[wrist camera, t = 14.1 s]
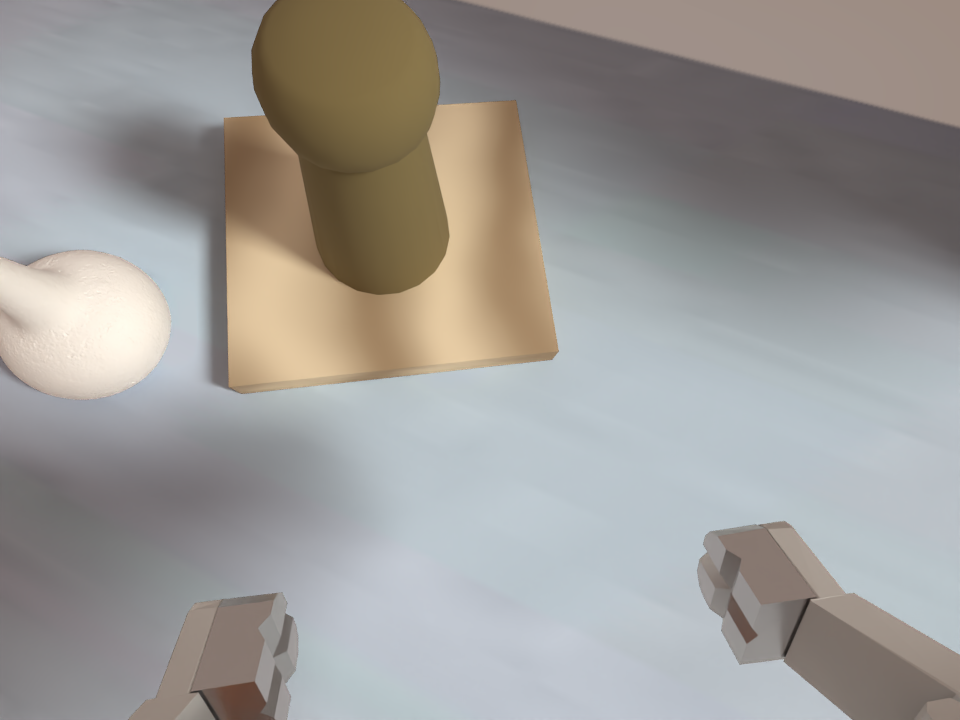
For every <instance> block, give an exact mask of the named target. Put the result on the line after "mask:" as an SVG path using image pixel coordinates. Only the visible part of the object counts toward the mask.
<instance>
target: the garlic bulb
mask: <svg viewBox="0 0 960 720" xmlns="http://www.w3.org/2000/svg"><path fill="white" fill-rule="evenodd" d="M170 332H171V315H170V310H169V306H168V304H167V301H166V299H165V297H164V295H163V293H162V292H161V290H160V289H159V287H158V286H157V285H156V283H155V282H154V281H153V280H152V279H151V278H150V277H149V276H148V275H147V274H146V273H145V272H143V271H142V270H141V269H140V268H138V267H137V266H135V265H133V264H132V263H130V262H128V261H126V260H124V259H122V258H121V257H117V256H114V255H110V254H107V253H103V252H97V251H91V250H74V251H67V252H61V253H57V254H53V255H50V256H47V257H44V258H42V259H40V260H37V261H36V262H34V263H32V264H30V265H28V266H25V265H22V264H19V263H16V262H14V261H11V260H9V259H6V258H3V257H0V356H1V358H2V359H3V361H4V363H5V364H6V365H7V367H8V368H9V369H10V370H11V371H12V372H13V373H14V374H15V375H16V376H17V377H18V378H19V379H21V380H22V381H23V382H25V383H26V384H28V385H29V386H31V387H33V388H34V389H36V390H38V391H41V392H43V393H46V394H48V395H51V396H55V397H61V398H67V399H75V400H89V399H97V398H103V397H108V396H111V395H114V394H117V393H120V392H122V391H124V390H126V389H128V388H130V387H132V386H134V385H135V384H137V383H138V382H140V381H141V380H143V379H144V378H145V377H146V376H147V375H148V374H149V373H150V372H151V371H152V370H153V369H154V368H155V367H156V366H157V364H158V363H159V361H160V359H161V358H162V356H163V354H164V352H165V350H166V347H167V345H168V341H169V337H170Z"/></svg>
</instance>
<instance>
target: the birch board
mask: <svg viewBox="0 0 960 720" xmlns="http://www.w3.org/2000/svg"><path fill="white" fill-rule="evenodd" d="M427 136H428V140H429V144H430V148H431V152H432V156H433V160H434V165H435V169H436V173H437V177H438V181H439V185H440V189H441V194H442V198H443V202H444V206H445V210H446V214H447V219H448V227H449V235H450V238H449V242H448V246H447V251H446V255H445V257H444V258H443V260H442V262H441V263H440V265H439V267H438V268H437V270H436V271H435V272H434V273H433V274H432V275H431V276H430V277H428V278H427V279H426V280H425V281H424V282H422V283H421V284H420V285H418V286H416V287H413V288H411V289H408V290H406V291H403V292H401V293H395V294H384V295H375V294H370V293H365V292H360V291H356V290H355V289H353V288H351V287H349V286H347V285H345V284H344V283H342V282H340V281H338V280H337V279H336V277H335V276H334V275H333V274H332V273H331V272H330V271H329V270H328V269H327V268H326V267H325V265H324V263H323V261H322V259H321V256H320V254H319V252H318V249H317V246H316V241H315V236H314V232H313V227H312V222H311V217H310V212H309V207H308V202H307V197H306V192H305V187H304V182H303V177H302V173H301V168H300V163H299V158H298V155H297V154H296V153H295V151H294V150H293V149H292V148H291V147H290V146H289V145H288V144H287V143H286V142H285V141H284V140H283V139H282V138H281V137H280V136H279V135H278V134H277V133H276V132H275V131H274V130H273V129H272V128H271V126H270V124H269V122H268V119H267V117H266V115H265V116H248V117H231V118H224V151H225V207H226V263H227V319H228V375H229V388H231V389H233V390H235V391H237V392H239V393H241V394H245V393H254V392H263V391H272V390H281V389H290V388H299V387H309V386H318V385H327V384H336V383H345V382H354V381H363V380H372V379H381V378H390V377H399V376H408V375H418V374H427V373H436V372H445V371H454V370H463V369H472V368H481V367H490V366H499V365H508V364H517V363H526V362H536V361H545V360H552V359H553V358H554V356H555V355H556V354H557V353H558V351H559V350H558V344H557V339H556V333H555V327H554V321H553V315H552V309H551V303H550V297H549V291H548V286H547V280H546V274H545V268H544V262H543V256H542V250H541V244H540V239H539V233H538V227H537V221H536V215H535V209H534V203H533V197H532V192H531V186H530V180H529V174H528V168H527V162H526V156H525V150H524V145H523V139H522V133H521V127H520V121H519V115H518V109H517V103H516V100H513V101H497V102H480V103H464V104H447V105H437V107H436V111H435V115H434V118H433V121H432V124H431V127H430V129H429V131H428V132H427Z"/></svg>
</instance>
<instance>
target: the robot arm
mask: <svg viewBox="0 0 960 720" xmlns="http://www.w3.org/2000/svg"><path fill="white" fill-rule="evenodd" d="M703 545H704V547H705V549H706V550H707V553H706V554H705V555H704V556H702V557H701V558H700V559H699V564H698V569H697V574H698V581H699V586H700V589H701V592H702V594H703V597H704V599H705V601H706V603H707V605H708V607H709V609H711V610H712V611H714V612H715V613H716V614H718V615H719V616H721V617H722V618H723V622H722V628H721V631H722V633H723V635H724V637H725V639H726V640H727V642H728V644H729V646H730V648H731V650H732V652H733V653H734V655H735V657H736V659H737V661H738V663H739V665H741V664H748V663H756V662H764V661H772V660H779V659H784V662H785V663H786V664H787V665H788V666H789V667H791V668H792V669H793V670H794V671H795V672H797V673H798V674H799V675H800V676H801V677H803V678H804V679H805V680H806V681H807V682H808V683H810V684H811V685H812V686H813V687H814V688H816V689H817V690H818V691H819V692H820V693H821V694H823V695H824V696H825V697H826V698H827V699H829V700H830V701H831V702H832V703H833V704H834V705H836V706H837V707H838V708H839V709H840V710H842V711H843V712H844V713H845V714H846V715H848V716H849V717H850V718H851V719H852V720H960V655H959V654H957V653H956V652H954V651H952V650H950V649H949V648H947V647H945V646H944V645H942V644H940V643H938V642H937V641H935V640H933V639H932V638H930V637H928V636H926V635H925V634H923V633H921V632H920V631H918V630H916V629H915V628H913V627H911V626H909V625H908V624H906V623H904V622H903V621H901V620H899V619H897V618H896V617H894V616H892V615H891V614H889V613H887V612H885V611H884V610H882V609H880V608H879V607H877V606H875V605H873V604H872V603H870V602H868V601H867V600H865V599H863V598H861V597H860V596H858V595H856V594H855V593H849V594H846V593H845V592H844V591H843V589H842V588H841V587H840V586H839V584H838V583H837V582H836V581H835V579H834V578H833V577H832V576H831V574H830V573H829V572H828V571H827V569H826V568H825V567H824V566H823V564H822V563H821V562H820V561H819V559H818V558H817V557H816V556H815V554H814V553H813V552H812V551H811V549H810V548H809V547H808V546H807V544H806V543H805V542H804V541H803V539H802V538H801V537H800V536H799V534H798V533H797V532H796V531H795V529H794V528H793V527H792V526H791V525H790V524H788V523H787V522H785V521H780V522H773V523H767V524H761V525H756V524H755V525H748V526H742V527H736V528H729V529H723V530H716V531H710V532H709V533H708V534H706V535H705V539H704V542H703ZM286 608H287V601H286V599H285V597H284V595H283V592H280V593H272V594H264V595H255V596H247V597H238V598H230V599H221V600H213V601H206V602H199V603H195V604H194V605H193V607H192V608H191V609H190V611H189V612H188V614H187V616H186V619H185V622H184V624H183V627H182V629H181V632H180V635H179V637H178V640H177V643H176V645H175V648H174V651H173V653H172V656H171V658H170V661H169V664H168V666H167V669H166V672H165V674H164V677H163V680H162V682H161V685H160V688H159V690H158V693H157V695H156V698H154V699H149V700H146V701H145V702H144V703H143V704H142V705H141V706H140V707H139V708H138V709H137V710H136V711H135V713H134V714H133V715H132V716H131V717H130V718H129V719H128V720H287V717H288V711H289V706H290V700H291V695H290V693H289V691H288V688H287V686H286V682H287V681H288V680H289V679H290V677H291V676H292V675H293V673H294V672H295V671H296V665H297V658H298V632H297V626H296V623H295V621H294V618H293V617H291V616H289V615H288V614H286Z"/></svg>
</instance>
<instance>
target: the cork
mask: <svg viewBox="0 0 960 720" xmlns="http://www.w3.org/2000/svg"><path fill="white" fill-rule="evenodd" d="M251 52H252V76H253V84H254V91H255V93H256V95H257V97H258V100H259V102H260V104H261V107H262V109H263V111H264V113H265V115H266V117H267V119H268V122H269V124H270V126H271V128H272V129H273V130H274V131H275V132H276V133H277V134H278V135H279V136H280V137H281V138H282V139H283V140H284V141H285V142H286V143H287V144H288V145H289V146H290V147H291V148H292V149H293V150H294V151H295V153H296V154H297V155H298V158H299V163H300V168H301V173H302V177H303V182H304V187H305V192H306V197H307V202H308V207H309V212H310V217H311V222H312V227H313V232H314V236H315V241H316V246H317V249H318V252H319V254H320V256H321V259H322V261H323V263H324V265H325V267H326V268H327V269H328V270H329V271H330V272H331V273H332V274H333V275H334V276H335V277H336V279H337V280H338V281H340V282H342V283H344V284H345V285H347V286H349V287H351V288H353V289H355V290H356V291H360V292H365V293H370V294H375V295H384V294H395V293H401V292H403V291H406V290H408V289H411V288H413V287H416V286H418V285H420V284H421V283H422V282H424V281H425V280H426V279H427V278H428V277H430V276H431V275H432V274H433V273H434V272H435V271H436V270H437V268H438V267H439V265H440V263H441V262H442V260H443V258H444V257H445V255H446V251H447V246H448V242H449V238H450V235H449V227H448V219H447V214H446V210H445V206H444V202H443V198H442V194H441V189H440V185H439V181H438V177H437V173H436V169H435V165H434V160H433V156H432V152H431V148H430V144H429V140H428V136H427V132H428V131H429V129H430V127H431V124H432V121H433V118H434V115H435V111H436V107H437V103H438V99H439V95H440V77H439V69H438V62H437V55H436V52H435V49H434V46H433V43H432V40H431V38H430V36H429V35H428V33H427V31H426V29H425V27H424V25H423V23H422V21H421V20H420V19H419V17H418V16H417V15H416V14H415V13H414V12H413V11H412V9H411V8H409V7H408V6H407V5H406V4H405V3H404V2H403V1H402V0H276V2H275V3H274V4H273V5H272V6H271V8H270V9H269V10H268V11H267V12H266V13H265V15H264V16H263V19H262V22H261V24H260V27H259V30H258V33H257V35H256V38H255V41H254V44H253V47H252V50H251Z"/></svg>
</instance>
